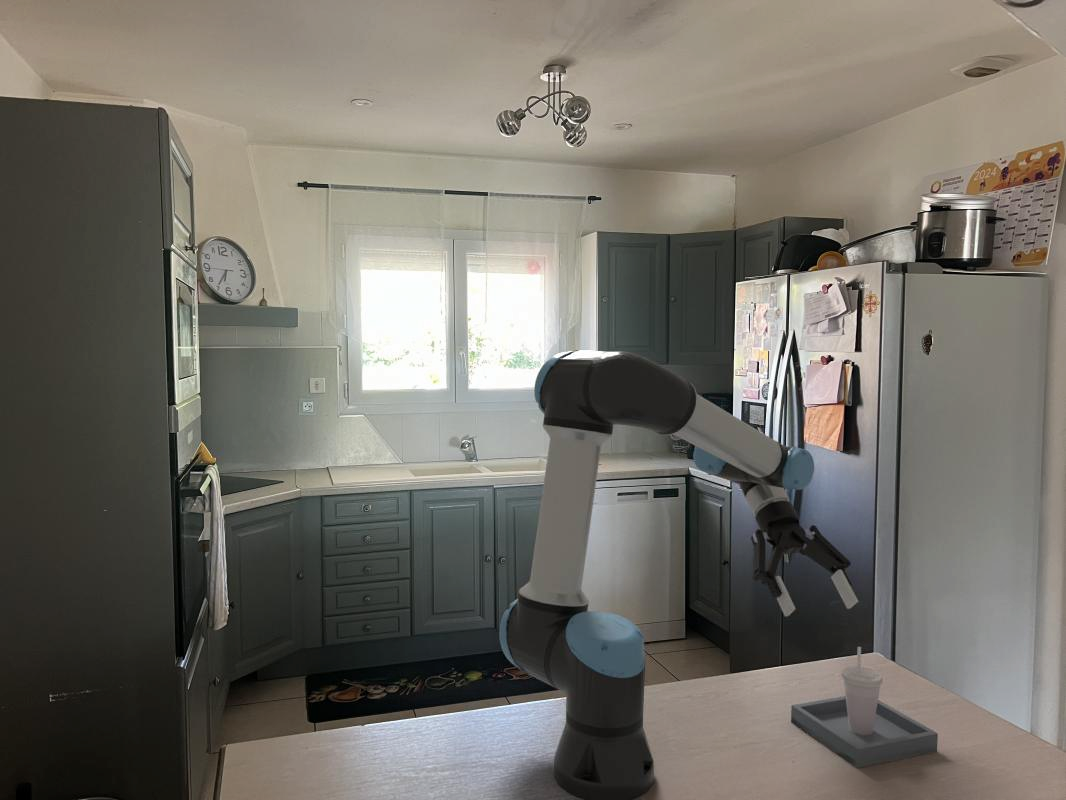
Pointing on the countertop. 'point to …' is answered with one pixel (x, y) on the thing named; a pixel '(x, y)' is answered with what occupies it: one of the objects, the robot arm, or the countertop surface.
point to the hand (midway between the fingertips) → (822, 609)
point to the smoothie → (861, 696)
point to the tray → (885, 744)
